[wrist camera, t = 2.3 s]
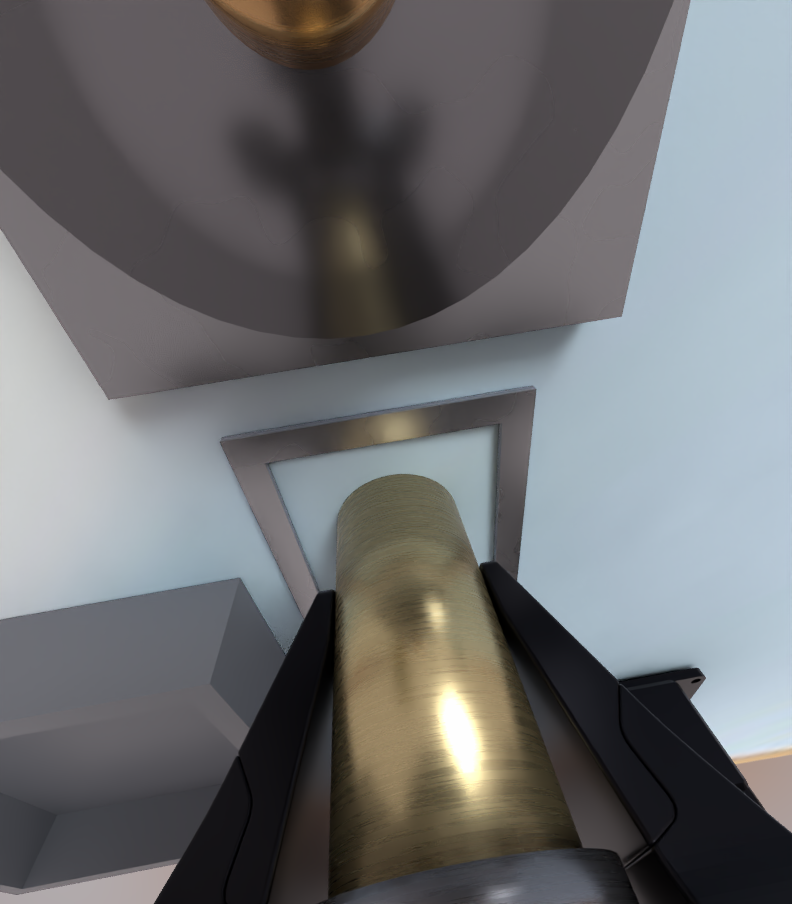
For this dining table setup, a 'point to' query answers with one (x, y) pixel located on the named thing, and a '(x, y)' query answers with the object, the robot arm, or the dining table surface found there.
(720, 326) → the dining table surface
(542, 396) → the dining table surface
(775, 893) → the robot arm
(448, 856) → the gold cylinder with rim
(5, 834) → the tray
